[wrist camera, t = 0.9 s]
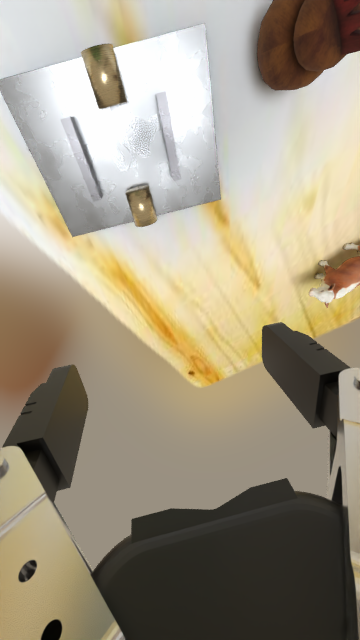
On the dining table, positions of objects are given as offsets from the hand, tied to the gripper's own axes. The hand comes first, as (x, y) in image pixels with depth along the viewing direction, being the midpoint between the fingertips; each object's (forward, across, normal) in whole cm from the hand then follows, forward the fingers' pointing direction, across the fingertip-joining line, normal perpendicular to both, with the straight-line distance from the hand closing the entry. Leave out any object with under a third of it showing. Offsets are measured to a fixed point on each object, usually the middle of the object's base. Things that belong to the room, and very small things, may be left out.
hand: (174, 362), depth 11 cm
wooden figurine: (+25, -17, -19) cm, 36 cm away
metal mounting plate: (+28, 0, -12) cm, 30 cm away
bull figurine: (+31, -31, +7) cm, 45 cm away
